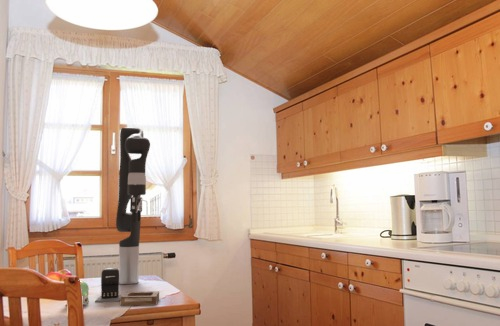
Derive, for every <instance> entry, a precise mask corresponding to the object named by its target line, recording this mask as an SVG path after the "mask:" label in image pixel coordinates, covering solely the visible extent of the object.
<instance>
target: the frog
mask: <svg viewBox="0 0 500 326" xmlns="http://www.w3.org/2000/svg"><path fill="white" fill-rule="evenodd" d="M80 282H81V289H82V296H83V305H84V306H85V305H86V306H87V305H88V304H89V303H90V300H89V290H90V289H89V285H88V283H87V282H85V281H84V280H80ZM66 306H68V305H67V303H66V304H65V307H66Z"/></svg>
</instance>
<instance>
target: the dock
mask: <svg viewBox="0 0 500 326" xmlns="http://www.w3.org/2000/svg"><path fill="white" fill-rule="evenodd" d="M159 300H160V290H159V291H158V290H157V291H156V290H155V291H125V292H124V293H123V294H122V296H121V300H120V306H156V305H157V304H158V302H159Z"/></svg>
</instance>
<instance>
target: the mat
mask: <svg viewBox="0 0 500 326" xmlns="http://www.w3.org/2000/svg"><path fill="white" fill-rule="evenodd" d="M122 295H123V294H122ZM122 295H120V294H119V296H118V297H116V298H102V297H101V295H100V296H99V297H98V298H97V299H95V300H94V301H95V303H112V302H113V303H114V302H115V303H117V302H121V296H122Z"/></svg>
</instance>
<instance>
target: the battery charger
mask: <svg viewBox="0 0 500 326" xmlns="http://www.w3.org/2000/svg"><path fill="white" fill-rule="evenodd" d="M100 275H101V276H100V286H101V287H100V291H101V293H100V296H101V297H102V298H116V297H118V296H119V295H120V292H119V291H120V290H119V289H120V283H119V268H116V267H109V268H103V269H102V271H101V274H100Z"/></svg>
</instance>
